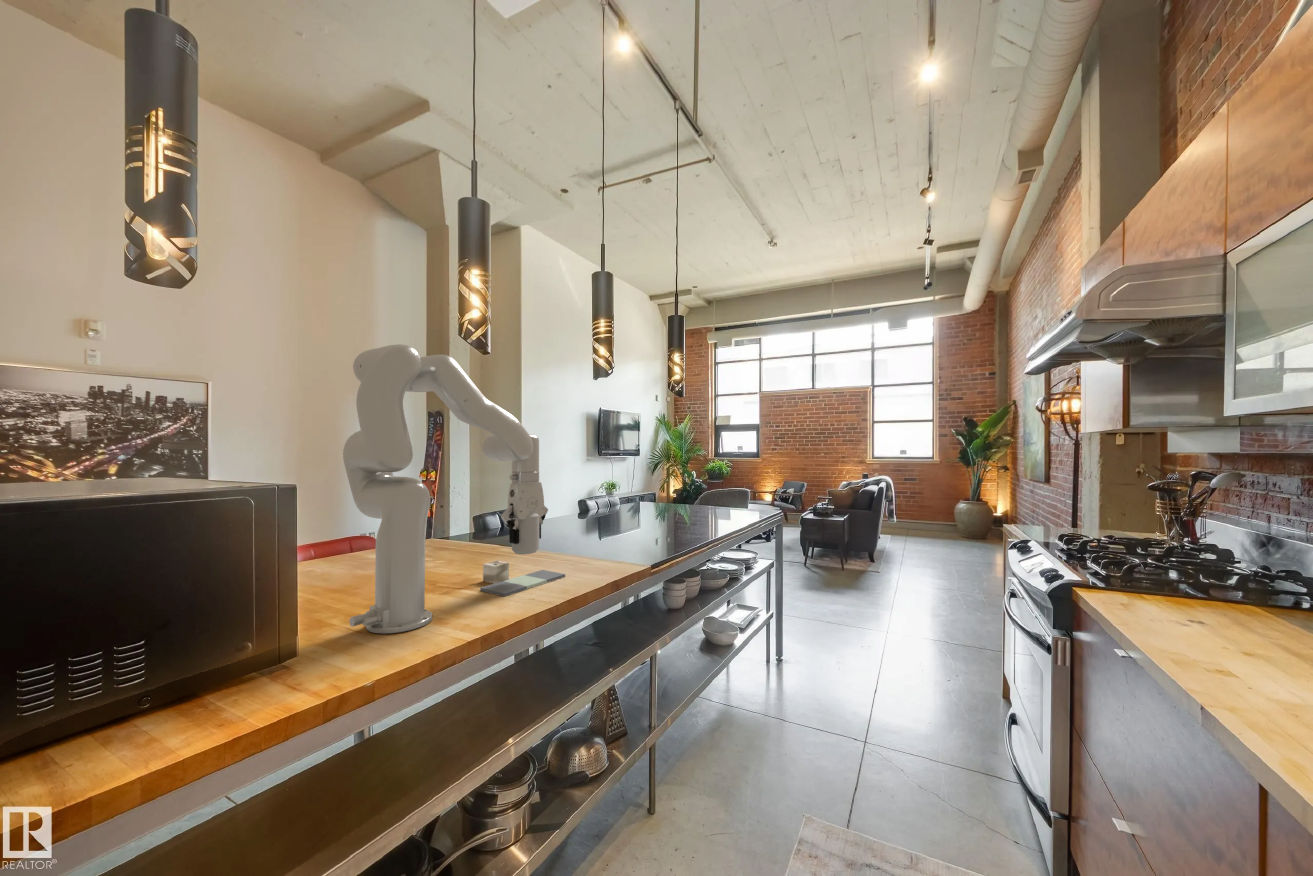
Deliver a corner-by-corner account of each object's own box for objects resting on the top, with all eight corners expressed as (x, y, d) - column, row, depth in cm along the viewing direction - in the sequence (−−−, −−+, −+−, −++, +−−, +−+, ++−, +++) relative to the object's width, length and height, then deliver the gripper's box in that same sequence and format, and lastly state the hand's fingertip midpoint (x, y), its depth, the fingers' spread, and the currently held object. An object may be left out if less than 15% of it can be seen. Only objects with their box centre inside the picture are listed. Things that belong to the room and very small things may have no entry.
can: (535, 555, 132) (535, 511, 132) (508, 555, 132) (508, 511, 132) (542, 549, 139) (542, 507, 139) (516, 549, 139) (516, 507, 139)
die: (494, 584, 135) (494, 566, 135) (483, 581, 137) (483, 563, 138) (508, 580, 139) (508, 562, 139) (497, 577, 142) (497, 560, 142)
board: (504, 596, 123) (504, 593, 123) (480, 590, 128) (480, 587, 128) (565, 576, 142) (565, 574, 142) (542, 572, 147) (542, 569, 147)
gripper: (510, 480, 126) (510, 547, 126) (557, 476, 141) (557, 537, 141) (491, 479, 130) (491, 544, 130) (538, 476, 145) (538, 534, 145)
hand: (525, 540), depth 135 cm, fingers closed on can, 7 cm apart
